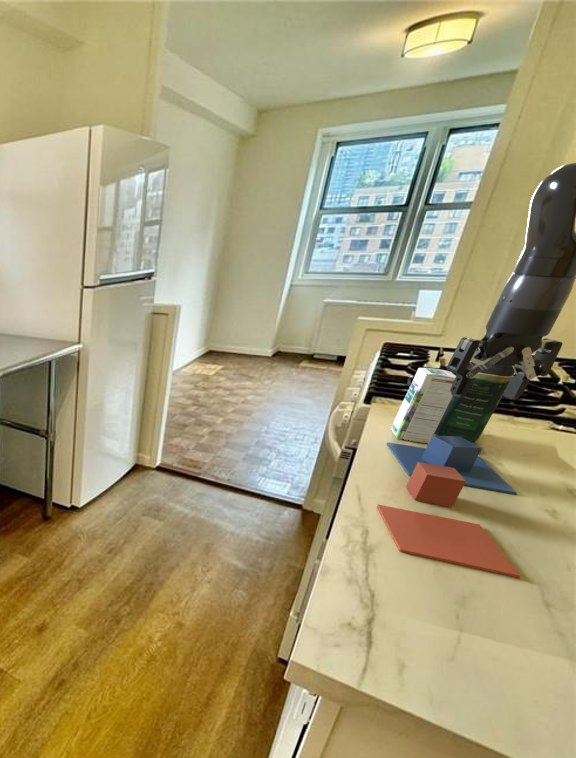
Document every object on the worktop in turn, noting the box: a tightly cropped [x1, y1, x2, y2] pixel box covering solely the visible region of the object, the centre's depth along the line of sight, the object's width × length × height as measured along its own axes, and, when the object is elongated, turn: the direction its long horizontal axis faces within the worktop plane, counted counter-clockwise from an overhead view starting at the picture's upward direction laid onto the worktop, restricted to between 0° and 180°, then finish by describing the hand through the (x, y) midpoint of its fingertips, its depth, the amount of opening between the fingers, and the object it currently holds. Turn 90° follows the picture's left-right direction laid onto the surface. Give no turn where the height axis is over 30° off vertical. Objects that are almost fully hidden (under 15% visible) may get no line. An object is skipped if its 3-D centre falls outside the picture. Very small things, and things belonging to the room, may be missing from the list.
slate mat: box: [386, 441, 518, 495], centre depth 92 cm, size 15×15×1 cm
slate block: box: [422, 434, 483, 472], centre depth 91 cm, size 5×5×5 cm
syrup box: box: [390, 367, 456, 444], centre depth 101 cm, size 6×6×14 cm
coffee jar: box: [433, 349, 515, 444], centre depth 101 cm, size 10×8×19 cm
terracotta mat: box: [376, 504, 522, 579], centre depth 72 cm, size 13×13×1 cm
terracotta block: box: [406, 462, 466, 508], centre depth 81 cm, size 5×5×5 cm
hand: (483, 397), depth 86 cm, fingers open, 8 cm apart
